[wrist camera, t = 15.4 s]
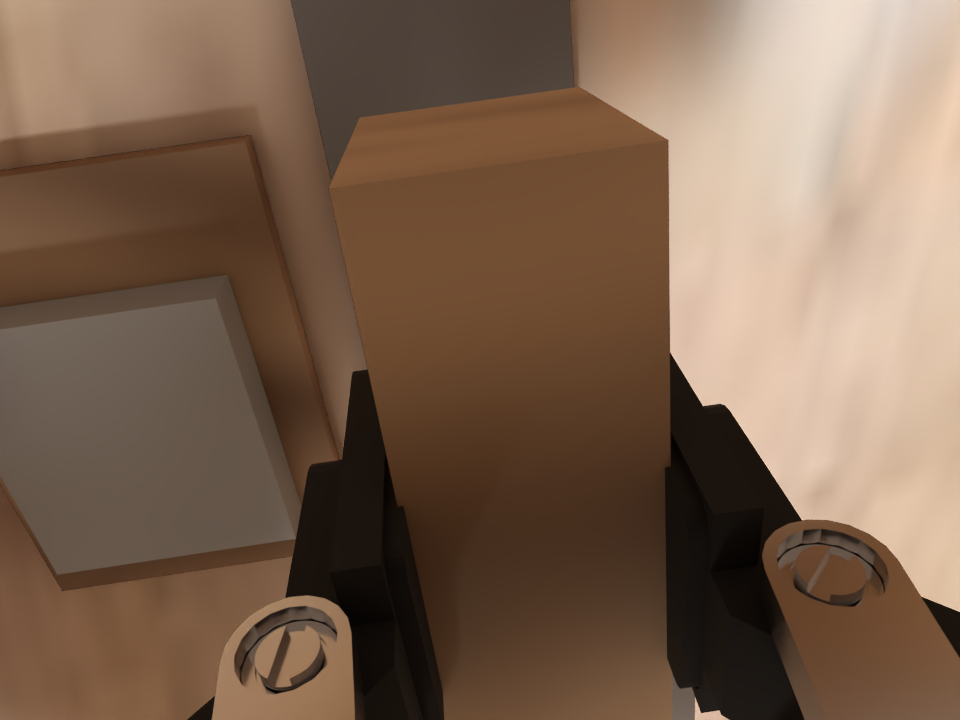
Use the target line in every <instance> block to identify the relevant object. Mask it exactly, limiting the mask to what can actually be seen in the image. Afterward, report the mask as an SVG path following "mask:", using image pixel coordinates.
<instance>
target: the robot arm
mask: <svg viewBox="0 0 960 720" xmlns="http://www.w3.org/2000/svg"><path fill="white" fill-rule="evenodd" d="M670 447H671V466H670V467H665V526H666V612H667V659H668V662H669V665H670V668H671V671H672V673H673V676H674V679H675V681H676V684H677V686H678V687H679V688H680V689H684V688H690V687H692V689H693V692H694V695H695V697H696V700H697V703H698V705H699V708H700V711H701V713H704V712H710V711H717V710H720V712H721V715H723V716H724V717H726V718H728V719H730V720H960V612H958V611H955V610H953V609H950V608H948V607H946V606H943V605H941V604H938V603H936V602H933V601H931V600H928V599H926V598H923V597H921V596H920V594H919V593H918V591H917V589H916V588H915V586H914V585H913V583H912V581H911V580H910V578H909V577H908V575H907V573H906V572H905V570H904V569H903V567H902V565H901V564H900V562H899V561H898V559H897V558H896V557H895V556H894V555H893V554H892V552H891V551H890V550H889V549H888V548H887V547H886V546H885V545H884V544H882V543H881V542H880V541H878V540H877V539H875V538H874V537H873V536H871V535H870V534H868V533H866V532H863V531H861V530H859V529H857V528H854V527H852V526H850V525H846V524H842V523H838V522H833V521H829V520H803V521H802V520H801V518H800V517H799V515H798V514H797V512H796V511H795V509H794V508H793V506H792V505H791V503H790V502H789V500H788V499H787V497H786V495H785V494H784V492H783V491H782V489H781V488H780V486H779V485H778V483H777V482H776V480H775V479H774V477H773V476H772V474H771V473H770V471H769V470H768V468H767V467H766V465H765V464H764V462H763V461H762V459H761V458H760V456H759V454H758V453H757V451H756V450H755V448H754V447H753V445H752V444H751V442H750V441H749V439H748V438H747V436H746V435H745V433H744V432H743V430H742V429H741V427H740V426H739V424H738V423H737V421H736V420H735V418H734V417H733V415H732V413H731V412H730V411H729V410H728V408H727V407H726V406H725V405H722V404H716V405H709V406H702V404H701V402H700V401H699V399H698V398H697V396H696V394H695V393H694V391H693V389H692V388H691V386H690V384H689V383H688V381H687V379H686V378H685V376H684V375H683V373H682V371H681V370H680V368H679V366H678V365H677V363H676V361H675V360H674V358H673V357H672V355H671V353H670ZM188 720H444V703H443V690H442V685H441V680H440V676H439V671H438V666H437V662H436V657H435V652H434V647H433V643H432V638H431V633H430V629H429V624H428V619H427V614H426V610H425V605H424V600H423V596H422V591H421V586H420V582H419V577H418V572H417V567H416V563H415V558H414V553H413V549H412V544H411V539H410V534H409V530H408V525H407V520H406V516H405V511H404V506H400V507H398V506H397V501H396V497H395V492H394V488H393V483H392V478H391V474H390V469H389V465H388V460H387V455H386V451H385V446H384V442H383V437H382V432H381V428H380V423H379V418H378V414H377V409H376V405H375V400H374V395H373V391H372V386H371V382H370V377H369V372H368V370H361V371H354V372H353V374H352V380H351V389H350V397H349V406H348V415H347V423H346V432H345V441H344V449H343V458H342V460H336V461H329V462H322V463H315V464H312V465H311V466H310V467H309V470H308V473H307V478H306V484H305V490H304V495H303V501H302V507H301V512H300V518H299V524H298V530H297V535H296V541H295V547H294V552H293V558H292V564H291V569H290V575H289V581H288V586H287V592H286V598H285V599H282V600H279V601H276V602H273V603H271V604H268V605H267V606H265V607H263V608H262V609H260V610H258V611H257V612H255V613H253V614H252V615H251V616H249V617H248V618H247V619H246V620H245V621H244V622H243V623H242V624H241V625H240V626H239V627H238V628H237V629H236V630H235V631H234V633H233V634H232V636H231V637H230V639H229V640H228V642H227V643H226V645H225V648H224V651H223V654H222V657H221V660H220V665H219V672H218V679H217V686H216V694H215V696H214V697H213V698H212V699H211V700H210V701H208V702H207V703H206V704H205V705H204V706H203V707H201V708H200V709H199V710H198V711H197V712H196V713H194V714H193V715H192V716H191V717H190V718H189V719H188Z"/></svg>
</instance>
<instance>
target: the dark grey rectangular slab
mask: <svg viewBox="0 0 960 720" xmlns="http://www.w3.org/2000/svg"><path fill="white" fill-rule="evenodd" d="M291 3H292V8H293V12H294V17H295V21H296V25H297V30H298V34H299V39H300V43H301V48H302V52H303V57H304V61H305V65H306V70H307V74H308V79H309V83H310V88H311V92H312V97H313V101H314V106H315V110H316V114H317V119H318V123H319V128H320V132H321V137H322V141H323V146H324V150H325V155H326V159H327V163H328V168H329V172H330V177H331V181H332V180H333V177H334V175H335V173H336V170H337V168H338V166H339V164H340V161H341V159H342V157H343V154H344V152H345V150H346V148H347V145H348V143H349V141H350V139H351V136H352V134H353V132H354V129H355V127H356V125H357V123H358V120H359V118H361V117H368V116H375V115H382V114H390V113H397V112H404V111H411V110H418V109H425V108H432V107H439V106H447V105H454V104H461V103H468V102H475V101H482V100H489V99H496V98H504V97H511V96H518V95H525V94H532V93H539V92H546V91H553V90H561V89H568V88H574V74H573V54H572V34H571V14H570V0H291Z"/></svg>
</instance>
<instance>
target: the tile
mask: <svg viewBox="0 0 960 720" xmlns="http://www.w3.org/2000/svg"><path fill="white" fill-rule="evenodd" d="M0 477H1V478H2V480H3V482H4V483H5V485H6V487H7V489H8V490H9V492H10V494H11V496H12V497H13V499H14V501H15V502H16V504H17V506H18V508H19V509H20V511H21V513H22V515H23V516H24V518H25V520H26V521H27V523H28V525H29V527H30V528H31V530H32V532H33V534H34V535H35V537H36V539H37V540H38V542H39V544H40V546H41V547H42V549H43V551H44V553H45V554H46V556H47V558H48V559H49V561H50V563H51V565H52V566H53V568H54V570H55V572H56V573H57V575H58V574H65V573H72V572H78V571H85V570H92V569H98V568H105V567H111V566H118V565H125V564H131V563H138V562H145V561H151V560H158V559H165V558H171V557H178V556H184V555H191V554H198V553H204V552H211V551H218V550H224V549H231V548H237V547H244V546H251V545H257V544H264V543H271V542H277V541H284V540H291V539H296V535H297V530H298V524H299V518H300V512H301V507H302V506H301V503H300V500H299V497H298V494H297V491H296V487H295V484H294V481H293V478H292V475H291V472H290V469H289V465H288V462H287V459H286V456H285V453H284V450H283V447H282V444H281V440H280V437H279V434H278V431H277V428H276V425H275V422H274V418H273V415H272V412H271V409H270V406H269V403H268V400H267V396H266V393H265V390H264V387H263V384H262V381H261V378H260V375H259V371H258V368H257V365H256V362H255V359H254V356H253V353H252V349H251V346H250V343H249V340H248V337H247V334H246V331H245V327H244V324H243V321H242V318H241V315H240V312H239V309H238V306H237V302H236V299H235V296H234V293H233V290H232V287H231V284H230V280H229V277H228V275H221V276H215V277H208V278H201V279H194V280H187V281H180V282H173V283H166V284H159V285H152V286H145V287H138V288H131V289H125V290H118V291H111V292H104V293H97V294H90V295H83V296H76V297H69V298H62V299H55V300H48V301H42V302H35V303H28V304H21V305H14V306H7V307H0Z"/></svg>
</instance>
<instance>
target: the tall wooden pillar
mask: <svg viewBox="0 0 960 720" xmlns="http://www.w3.org/2000/svg"><path fill="white" fill-rule="evenodd" d="M329 193H330V197H331V202H332V206H333V211H334V216H335V220H336V225H337V229H338V234H339V239H340V243H341V248H342V252H343V257H344V262H345V266H346V271H347V276H348V280H349V285H350V289H351V294H352V299H353V303H354V308H355V312H356V317H357V322H358V326H359V331H360V335H361V340H362V345H363V349H364V354H365V359H366V363H367V368H368V372H369V377H370V382H371V386H372V391H373V395H374V400H375V405H376V409H377V414H378V418H379V423H380V428H381V432H382V437H383V442H384V446H385V451H386V455H387V460H388V465H389V469H390V474H391V478H392V483H393V488H394V492H395V497H396V501H397V506H398V507H400V506H404V511H405V516H406V520H407V525H408V530H409V534H410V539H411V544H412V549H413V553H414V558H415V563H416V567H417V572H418V577H419V582H420V586H421V591H422V596H423V600H424V605H425V610H426V614H427V619H428V624H429V629H430V633H431V638H432V643H433V647H434V652H435V657H436V662H437V666H438V671H439V676H440V680H441V685H442V690H443V703H444V720H695V695H694V692H693V689H692V687H690V688H684V689H680V688H679V687H678V686H677V684H676V681H675V679H674V676H673V673H672V671H671V668H670V665H669V662H668V659H667V612H666V526H665V467H670V466H671V447H670V309H669V171H668V140H667V139H665V138H664V137H662V136H660V135H659V134H657V133H655V132H654V131H652V130H650V129H649V128H647V127H645V126H644V125H642V124H640V123H638V122H637V121H635V120H633V119H632V118H630V117H628V116H627V115H625V114H623V113H622V112H620V111H618V110H617V109H615V108H613V107H612V106H610V105H608V104H607V103H605V102H603V101H602V100H600V99H598V98H597V97H595V96H593V95H591V94H590V93H588V92H586V91H585V90H583V89H581V88H580V87H575V88H568V89H561V90H553V91H546V92H539V93H532V94H525V95H518V96H511V97H504V98H496V99H489V100H482V101H475V102H468V103H461V104H454V105H447V106H439V107H432V108H425V109H418V110H411V111H404V112H397V113H390V114H382V115H375V116H368V117H361V118H359V120H358V123H357V125H356V127H355V129H354V132H353V134H352V136H351V139H350V141H349V143H348V145H347V148H346V150H345V152H344V154H343V157H342V159H341V161H340V164H339V166H338V168H337V170H336V173H335V175H334V177H333V180H332V182H331V184H330V186H329Z"/></svg>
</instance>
